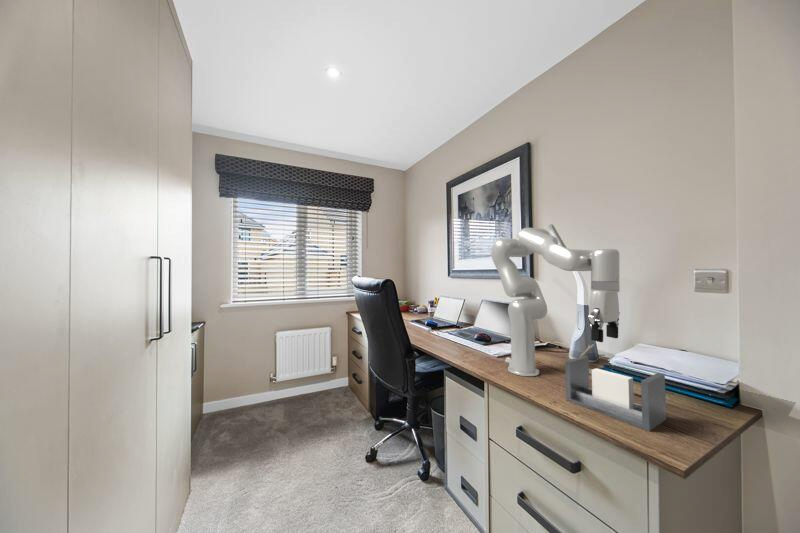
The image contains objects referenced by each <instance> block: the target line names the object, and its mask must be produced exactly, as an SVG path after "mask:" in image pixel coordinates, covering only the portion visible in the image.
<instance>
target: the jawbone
mask: <svg viewBox="0 0 800 533" xmlns="http://www.w3.org/2000/svg"><path fill="white" fill-rule="evenodd" d="M594 347H595V344H593V343H592V344H590V343H589V344H588V345H587V348H586V349H585V350H584V351H583V352H582V353H580V354H579V356H578V357H582V356H587V353H588V352H589V351H590V350H592V349H593V348H594ZM592 370H593V368H590V367H589V375H592Z"/></svg>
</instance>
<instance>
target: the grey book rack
mask: <svg viewBox="0 0 800 533" xmlns="http://www.w3.org/2000/svg"><path fill="white" fill-rule="evenodd" d="M564 365H565V395H566V396H565V400H566V401H568V402H571V403H573V404H577V405H579V406H581V407H583V408H586V409H589V410H592V411H594V412H597V413H600V414H602V415H605V416H608V417H610V418H613V419H616V420H619V421H621V422H623V423H626V424H629V425H630V426H631V425H632V426H634V427H637V428H640V429H643V430H645V431H648V432H650V431H652V430H654V429H655V428H656V427H657V426H659V425H660V424H662V423H663V422H665V421H666V420H667V403H666V378H665V377H666V376H665V373H661V372H657V373H655V374H653V375H650V376H648V377H647V378H644V379H641V380H640V391H641V392H640V393H641V404H640V403H637V402H634V409H631V408H628V407H625V406H622V405H619V404H616V403H613V402H610V401H608V400H605V399H602V398H599V397H596V396H593V395H592V388H590V374H589V368H590V367H589V366H590V363H589V356H587V355H586V356H582V357H579V356H578V357H575V358H572V359H569V360H565V363H564Z"/></svg>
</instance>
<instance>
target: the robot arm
mask: <svg viewBox="0 0 800 533" xmlns="http://www.w3.org/2000/svg"><path fill="white" fill-rule="evenodd" d="M534 253H536V254H538V255H541V256H542V258H543V259H544V260H545V261H546V262H547V263H548V264H550V265H552V266H554V267H557V268H558V269H560V270H563V271H567V272H590V290H591V291H590V294H589V301H588V302H589V304H588V305H589V306H588V320H589V325H590V328H591V329H590V330H591V331H590V334H591V336H590V337H591V341H594V342H598V343H603V342H604V329H603V326H604V324H606V327H605V328H606V335H605V336H606V337H607V338H612V339H618V338H619V325H620V324H619V321H620V315H621V314H620V303H619V293H620V288H621V287H620V252H619V251H618V250H617V249H615V248H599V249H598V248H597V249H594V250H591V249H588V250H587V249H573V248H572V249H570V248H568V247H565V246H563V245H561V244H559V240H558V238H557V237H556V236H555V235H551V233H550V232H549V231H548V230H546V229H544V228H536V227H524V228H521V229H519V231H517V234H516V238H500V239H498V240H496V241H495V242H493V245H492V247H491V260H492V261H493V264H494V267H495V268H496V270H497V272H498V275H499V279H500V281H501V284H502V287H503V289H504V292H505V295H506V296H508V297H509V298H517V299H514V300H512V301H511V302H510V303H509V304H508V307H507V312H508V313H507V314H508V318H509V323H510V324H509V325H510V351H511V352H510V353H511V354H510V355H511V356H510V357H509V356H507V357H505V359H504V362H505V363H507V364H509V365H508V366H507V371H508V372H509V373H511V374H513V375H517V376H521V377H535V376H539V375H540V370H539V369H538V368H537V367H536V346H535V344H536V342H535V341H536V340H535V329H534V326H533V324H532V323H531V321H537V320H541V319H542V320H543V319H544V318H546V316H547V314H548V306H547V303H546V300H545V297H544V295H543V293H542V290H541V288H540V285H539V283H538V282H537V281H536V279H535V278H533V277H530V276H522V275H521V274H520V272H519V269H518V267H517V265H516V264H515V262H514V261H513V260H512V259H511V258H524V257H528V256H530V255H532V254H534Z"/></svg>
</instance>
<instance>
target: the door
mask: <svg viewBox="0 0 800 533" xmlns="http://www.w3.org/2000/svg"><path fill="white" fill-rule="evenodd" d="M591 389H592V395H593V396H596V397H599V398H602V399H605V400H608V401H610V402H613V403H616V404H619V405H622V406H625V407H628V408H631V409H634V403H635V402H634V399H635V398H634V378H633V376H632V377H631V376H628V375H623V374H621V373H617V372H611V371H608V370H606V369H601V368H597V367H596V368H592V374H591Z"/></svg>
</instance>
